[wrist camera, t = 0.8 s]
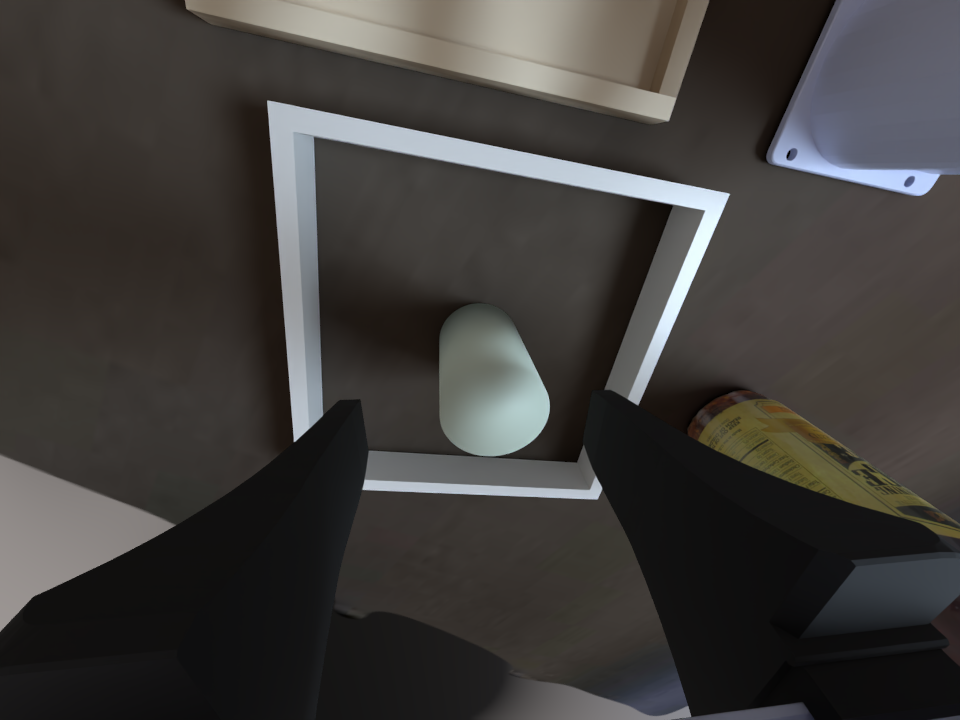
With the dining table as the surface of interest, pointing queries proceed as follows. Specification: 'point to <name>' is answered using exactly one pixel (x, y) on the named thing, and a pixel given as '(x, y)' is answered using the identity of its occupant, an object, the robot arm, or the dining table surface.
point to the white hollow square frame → (680, 237)
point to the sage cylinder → (488, 383)
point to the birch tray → (500, 43)
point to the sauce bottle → (818, 470)
